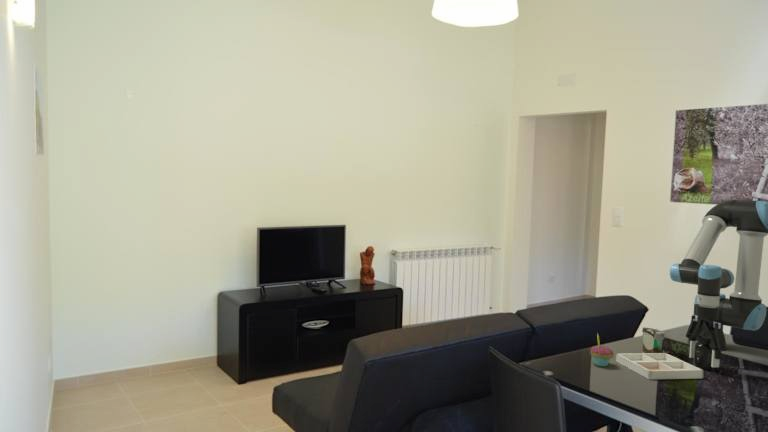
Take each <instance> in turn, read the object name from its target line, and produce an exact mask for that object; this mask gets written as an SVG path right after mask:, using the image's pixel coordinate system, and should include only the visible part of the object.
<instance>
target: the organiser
mask: <svg viewBox="0 0 768 432" xmlns="http://www.w3.org/2000/svg"><path fill="white" fill-rule="evenodd" d="M615 362H616V363H619V364H620V365H622V366H624V367H625V366H626V368H627V367H628V368H627V369H629V370H632V371H633V372H634V373H637V374H638V375H640V376H642V377H644V378H645V379H648V380H685V379H686V380H687V379H688V380H689V379H694V380H695V379H704V372H705V370H702V369H700V368H698V367H695V366H694V364H691V363H689V362H686V361H684V360H682V359H680V358H678V357H675V356H673V355H671V354H668V353H666V352H661V353H644V352H640V353H638V352H637V353H636V352H635V353H629V352H628V353H615Z"/></svg>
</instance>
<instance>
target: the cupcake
mask: <svg viewBox="0 0 768 432" xmlns="http://www.w3.org/2000/svg"><path fill="white" fill-rule="evenodd" d="M596 333H597V334H596V337H597V338H596V340H597V345H595V346H593V347H591V348H590V349H589V354H590V355H591V356H592V358H593V360H592V361H593V362H594V365H596V366H599V367H608V365H609V362H610V360H611V359H613V358H614V355H615V354H614V351H613V350H612V349H611V348H610V347H608V346H605V345H600V343H601V342H600V336H599V333H598V332H596Z"/></svg>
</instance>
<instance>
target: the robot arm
mask: <svg viewBox="0 0 768 432" xmlns="http://www.w3.org/2000/svg"><path fill="white" fill-rule="evenodd" d="M701 223H702V225H701V227H700V228H699V230H698V233H697V234H696V236H695V238H694V239H693V241H692V242H691V245H690V247H689V248H688V250H687V252H686V254H685V256H684V257H683V259H682V261H681V263H673V264H672V265H671V266H670V269H669V276H670V279H671V281H673V282H676V283H681V284H688V285H697V294H696V295H695V297H694V303H693V315H691V317H690V318H691V320H690V323H689V326H688V329H687V331H686V334H685V338H687V340H686V341H687V344H688V345H689V356H688V358H689V359H692V358H693V359H694V349H695V344H696V343H698V342H699V341H698V336H709V337H710V339H711V341H712V345H713V347H714V349H713V350H712V362H711V367H714V368H720V360H721V358H722V356H721V355H722V351H726V350H727V345H728V344H727V341H726V337H725V333H724V326H727V327H730V328H736V329H737V328H738V329H742V330H745V331H747V330H748V331H753V332H755V331H757V330H759V329H761V327H762V325H764V322H765V319H766V316H767V306H766V304H764V303H762V297H761V296H760V295H759V287H760V281H761V280H760V278H761V271H762V270H761V269H762V268H761V267H762V259H763V250H764V248H763V247H764V239H765V237H766V236H768V201H764V200H763V201H762V200H745V199H744V200H741V199H727V200H723V201H721V202H719V203H717V204H716V205H714V206H713V207H712V208H710V209H709V210H708V211H707V213H706V214H705V215H704V216H703V218H702V221H701ZM728 227H732V228H736V233H737V234H738V235H739V242H738V252H737V262H736V271H735V275H734V273H733V272H732V271H731V270H729V269H728V268H722V267H721V266H720V265H714V264H713V265H712V264H705V262H706V260H707V259H708V256H709V255H710V253H711V251H712V249H713V248H714V246H715V243H716V242H717V240H718V239H719V237H720V234H721V233H722V232H723V233H724V231H726V230H727V228H728ZM734 282H735V283H734ZM733 284H734V290H733V292H732V293H730V294H729V297H728V298H727V297H726V294H725V293H721V289H726V288H729V287H731V285H732V286H733Z"/></svg>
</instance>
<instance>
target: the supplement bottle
mask: <svg viewBox="0 0 768 432" xmlns="http://www.w3.org/2000/svg"><path fill="white" fill-rule="evenodd" d="M698 341H699V342H698V343H696V344H695V349H694V358H693V366H695V367H698V368H700V369H702V370H704V371H713V370H714V368H715V367H711V362H712V350H713V349H714V347H713V345H712V341H711V339H710V337H709V336H698Z"/></svg>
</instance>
